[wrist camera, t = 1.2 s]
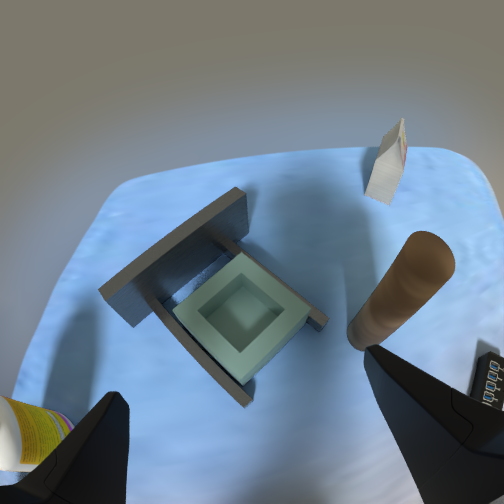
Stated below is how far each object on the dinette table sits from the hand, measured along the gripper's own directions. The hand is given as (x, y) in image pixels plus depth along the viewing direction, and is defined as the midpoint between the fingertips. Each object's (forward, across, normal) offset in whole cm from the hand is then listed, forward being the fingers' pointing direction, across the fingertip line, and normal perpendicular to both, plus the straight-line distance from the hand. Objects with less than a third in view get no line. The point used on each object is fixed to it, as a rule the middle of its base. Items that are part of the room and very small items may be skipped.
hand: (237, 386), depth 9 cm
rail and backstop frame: (+15, +2, +8) cm, 17 cm away
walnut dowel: (+12, -10, +11) cm, 19 cm away
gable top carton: (+29, -21, +2) cm, 36 cm away
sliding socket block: (+14, +1, +8) cm, 16 cm away
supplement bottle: (+4, +21, +13) cm, 25 cm away
